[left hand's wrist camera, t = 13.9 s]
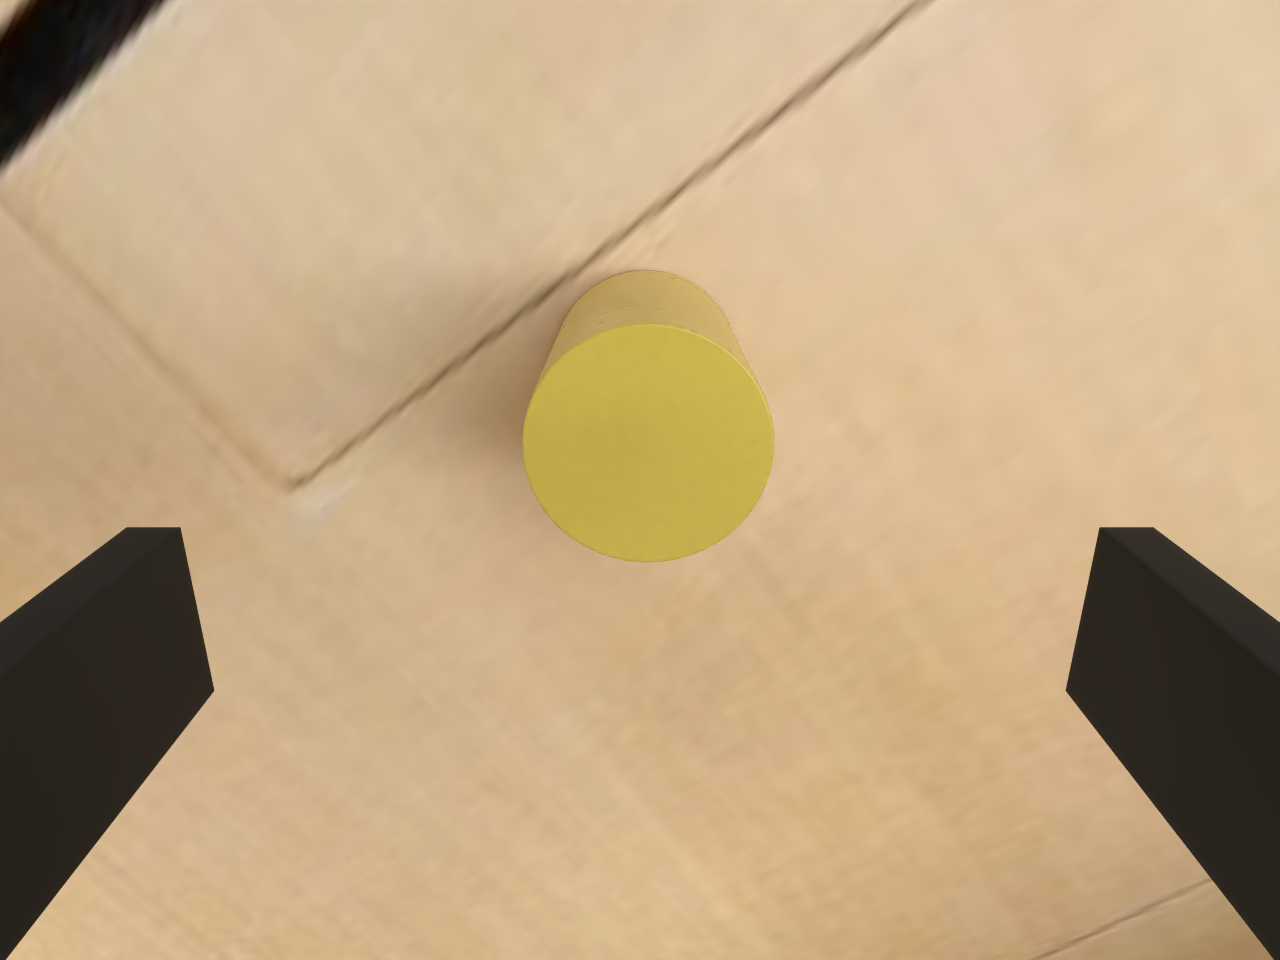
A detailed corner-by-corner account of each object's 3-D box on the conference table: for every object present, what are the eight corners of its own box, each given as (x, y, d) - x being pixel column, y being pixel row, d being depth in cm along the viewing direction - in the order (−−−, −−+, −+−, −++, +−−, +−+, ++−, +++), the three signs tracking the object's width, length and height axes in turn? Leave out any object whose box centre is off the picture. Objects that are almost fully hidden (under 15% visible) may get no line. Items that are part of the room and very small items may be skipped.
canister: (701, 467, 30) (724, 590, 22) (534, 417, 30) (494, 524, 21) (761, 303, 28) (813, 368, 20) (584, 245, 28) (560, 288, 19)
